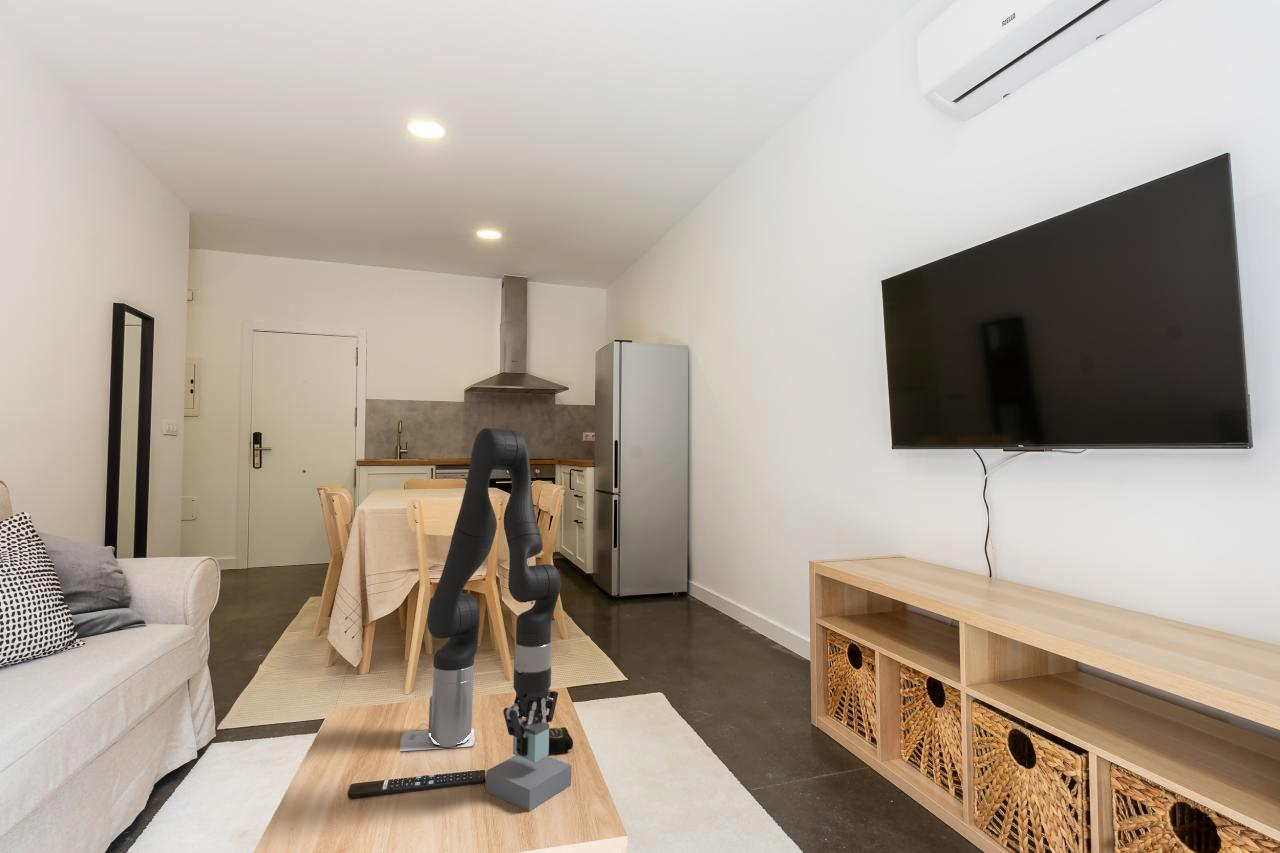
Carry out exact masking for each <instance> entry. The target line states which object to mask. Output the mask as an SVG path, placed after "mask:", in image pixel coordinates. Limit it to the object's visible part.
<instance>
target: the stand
mask: <svg viewBox="0 0 1280 853" xmlns="http://www.w3.org/2000/svg"><path fill="white" fill-rule="evenodd" d="M485 772H486V773H485V774H486V775H485V792H486V793H489V794H491V795H493V796H495V797H497V798H499V799H501V800H503V801H506V802H508V803H510V804H512V805H514V806H516V807H519V808H521V809H523V810H525V811H527V812H531V811H533V810H535V809H536V808H537V807H539V806H540V805H542V804H544V803H545V802H547V801H548V800H550V799H552V798H553V797H555V796H556V795H558V794H559V793H561V792H562V791H564V790H565V789H567V788H569V787H570V786H571V785H572V764H570V763H567V762H565V761H562V760H559V759H557V758H554V757H552V756H550V755H547V756H545V757H543V758H542V759H540V760H538V761H536V762H532V761H530V760H527V759H525V758H522V757H520V756H517V755H514V756H512V757H510V758H508V759H506V760H504V761H502V762H500V763H499V764H497V765H495V766H493V767H491V768H488V769H487V770H486V771H485Z"/></svg>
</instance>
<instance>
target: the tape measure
mask: <svg viewBox="0 0 1280 853" xmlns="http://www.w3.org/2000/svg"><path fill="white" fill-rule="evenodd" d="M573 747H574V741H573V738H572V736H571V735H570V733H569V730H568V728H567V727H564V726H563V727H551V728H550V727H549V753H551V754H554V753H555V754H558V753H562V752H563V753H564V752H566V751H571V750H572V749H573Z"/></svg>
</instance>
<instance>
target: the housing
mask: <svg viewBox="0 0 1280 853" xmlns="http://www.w3.org/2000/svg"><path fill="white" fill-rule="evenodd" d="M524 719H526V720H527V718H525V717H524ZM523 727H524V725H523V724H522V728H521V730H523ZM549 729H550V724H549V723H544V722H540V721H538V720H534V719H533V720H532V724H531V725H530V726H529V731H528V736H527V737H528V754H527V755H526V756H521V755H519V754H518V753H517V751H516V748H517V737H515V736H512V738H513V739H512V755H514V756H516V755H517V756H520V757H522V758H525V759H527V760H530V761H532V762H536V761H538V760H540V759H542V758H543V757H545V756H549V753H550V752H549Z"/></svg>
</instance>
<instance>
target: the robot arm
mask: <svg viewBox="0 0 1280 853" xmlns="http://www.w3.org/2000/svg"><path fill="white" fill-rule="evenodd" d="M530 462H531V461H530V454H529V448H528V443H527V441H526V438H525V436H524V435H523V433H521V432H520V431H517V430H512V429H504V428H503V429H502V428H492V427H484V428H482V429H481V430H479V432H478V433H477V435H476V436H475V440H474V442H473V447H472V451H471V456H470V462H469V466H468V467H469V468H468V474H467V478H466V483H465V488H464V493H463V497H462V500H461V504H460V509H459V511H458V515H457V517H456V518H457V519H456V522H455V523H454V528H453V531H452V532H453V533H452V535H451V536H452V537H451V540H450V543H449V544H450V545H449V548H448V552H447V556H446V560H445V562H444V566H443V569H442V572H441V574H440V578H439V581H438V583H437V585H436V588H435V591H434V594H433V596H432V599H431V601H430V604H429V607H428V612H427V619H426V620H427V622H426V623H427V630H428V631H429V633H430V635H431V636H432V637H433V638H434V639H435V638H436V639H438V640H439V639H441V640H442V639H448V640H447V642H446V643H445V644H444V645H443V646H441V647H440V648H439V649H438V650H436V652H434V655H433V666H432V669H433V670H432V672H433V673H432V694H431V695H430V697H429V706H428V707H429V708H428V729H427V730H428V732H429V733H431V737H432V738H433V739H434V740H435V741H436V742H437V743H439V744H440V746H439V747H441V748H442V747H443V748H445V747H446V748H448V747H449V748H450V747H456V745H457V743H460V742H461V741H463V740H464V739H465V738H466V737H467V736H468V735H469V734H470V733H471V730H472V729H473V728H472V727H473V707H474V706H473V705H474V704H473V699H474V670H475V667H474V666H475V657H476V654H477V651H478V647H479V646H478V644H479V634H480V633H479V632H480V622H481V619H480V618H481V612H480V607H479V602H478V601H477V598H476V597H475V596H474V595H473V594H471V593H463V590H464V589H465V587H466V585H467V583H468V582H469V580H470V579H471V578H472V577H473V575H474V574H475V573H476V572H477V571H478V569H479V568H480V567H481V566H482V565H483V563H484V562H485V561H486V559H487V557H488V556H489V554H490V552H491V550H492V547H493V543H494V539H495V537H496V533H497V527H498V523H497V522H498V521H497V517H496V514H495V510H494V508H493V505H492V502H491V499H490V493H489V488H490V487H489V485H490V481H491V480H490V479H491V475H492V472H493V471H494V470H495V471H496V470H498V471H508V473H509V477H510V482H511V491H510V495H509V498H508V501H507V504H506V507H505V510H504V512H503V513H504V514H503V529H504V534H505V537H506V543H507V545H508V546H507V547H508V552H509V553H508V554H509V556H508V557H509V558H508V559H509V563H508V578H507V579H508V582H507V584H508V585H507V586H508V591H509V593H510V596H511V598H513V600H515V601H516V602H518V603H527V602H528V603H529V602H534V603H533V606H532V607H531V608H530V609H528V610H526V611H523V612H521V613H520V614H518V616H517V618H516V627H515V629H516V630H515V646H514V647H515V648H514V654H513V655H514V656H513V687H512V688H513V689H514V692H515V698H514V701H513V704H512V705H511V706H510V707H509V708H508V707H505V708H504V709H503V711H502V712H503V716H504V721H505V724H506V730H507V733H508V735H509V736H512V737H513V736H515V737H517V748H516V751H517V753H518V754H519V755H521V756H526V755H527V754H528V737H527V736H528V731H529V726H530V725H531V724H532V720H533V719H534V720H538V721H540V722H544V723H547V724H549V723H552V722H553V719H554V714H555V710H556V706H557V700H558V697H559V692H558V691H555V690H553V689H550V688H551V686H552V645H551V644H552V643H551V642H552V641H551V639H552V620H553V617H554V612H555V609H556V606H557V602H558V599H559V596H560V592H561V586H562V580H561V579H562V578H561V575H560V573H559V570H558V568H556V567H555V566H554V565H552V564H548V563H546V564H537V565H536V564H535V565H528V559H531V558H533V557H536V556H537V555H539V554H540V553H541V552H542V551H543V540H542V536H541V531H540V528H539V523H538V520H537V516H536V513H535V506H534V499H533V488H532V487H533V486H532V473H531V465H530ZM547 712H548V713H547ZM525 718H527V720H526V719H525ZM522 724H523V725H524V727H523V730H521V728H522ZM457 746H458V745H457Z"/></svg>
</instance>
